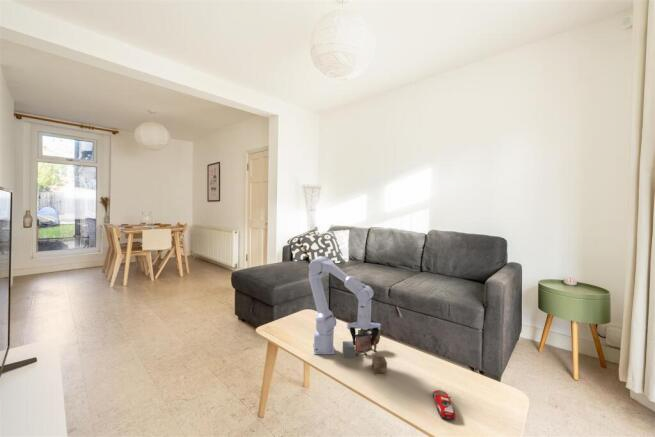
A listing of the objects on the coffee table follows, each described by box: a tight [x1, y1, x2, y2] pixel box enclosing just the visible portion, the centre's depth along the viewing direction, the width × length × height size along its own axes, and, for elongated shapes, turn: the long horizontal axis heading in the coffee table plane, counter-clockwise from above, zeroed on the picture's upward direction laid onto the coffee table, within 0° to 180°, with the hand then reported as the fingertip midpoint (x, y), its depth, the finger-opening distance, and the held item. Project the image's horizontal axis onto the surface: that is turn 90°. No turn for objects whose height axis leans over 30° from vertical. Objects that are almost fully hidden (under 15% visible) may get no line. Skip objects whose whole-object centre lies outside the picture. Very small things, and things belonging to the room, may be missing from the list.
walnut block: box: [371, 355, 388, 375], centre depth 121 cm, size 5×5×5 cm
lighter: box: [354, 329, 372, 355], centre depth 126 cm, size 8×3×10 cm, turn 118°
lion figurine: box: [356, 332, 381, 356], centre depth 136 cm, size 15×5×9 cm, turn 129°
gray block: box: [342, 340, 356, 358], centre depth 133 cm, size 5×5×5 cm
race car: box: [432, 389, 456, 421], centre depth 100 cm, size 13×5×4 cm, turn 171°
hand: (363, 344), depth 127 cm, fingers closed on lighter, 7 cm apart
